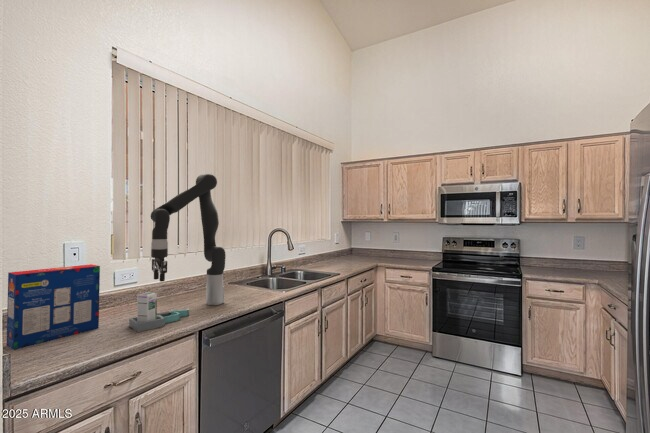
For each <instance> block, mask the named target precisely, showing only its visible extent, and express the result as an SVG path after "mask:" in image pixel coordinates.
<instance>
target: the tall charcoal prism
mask: <svg viewBox="0 0 650 433" xmlns="http://www.w3.org/2000/svg"><path fill="white" fill-rule="evenodd" d="M157 315H161V316H162V317H166V316H170V315H171V311H168V310H167V311H163V312H157Z"/></svg>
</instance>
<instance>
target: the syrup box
mask: <svg viewBox="0 0 650 433" xmlns="http://www.w3.org/2000/svg"><path fill="white" fill-rule="evenodd" d="M136 296H137V299H136V300H137V301H136V302H137V303H136V304H137V310H136V312H137V313H136V317H137V322H138V323H142V322H147V321H152V320H157V313H158V305H157V303H158V293H157V292H154V291H153V292H152V291H146V292H143V293H141V294H137V295H136Z"/></svg>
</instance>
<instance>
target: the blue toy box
mask: <svg viewBox="0 0 650 433" xmlns="http://www.w3.org/2000/svg"><path fill="white" fill-rule="evenodd" d="M7 273H8V274H7V310H6V313H7V314H6V346H7V347H8V348H10V349H11V350H13V351H15V350H16V351H17V350H20V349H25V348H27V347H32V346H35V345H39V344H44V343H49V342H51V341H56V340H59V339H65V338H66V337H71V336H76V335H79V334H83V333H88V332H91V331H95V330H99V328H100V325H99V322H100V321H99V319H100V285H101V284H100V281H101V278H100V277H101V276H100V274H101V265H98V264H91V263H90V264H83V265H73V266H72V265H71V266H61V267H60V266H59V267H54V268H53V267H50V268H49V267H48V268H43V269H42V268H41V269H32V270H30V269H29V270H20V271H12V272H10V271H9V272H7Z"/></svg>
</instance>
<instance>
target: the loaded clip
mask: <svg viewBox="0 0 650 433" xmlns="http://www.w3.org/2000/svg"><path fill="white" fill-rule="evenodd" d="M170 312H171V315H175V312H177V313H179V314H180V318H182V317H189V315H190V310H189V307H187V309H186V308H183V309H182V308H180V309H173V308H171V309H170Z"/></svg>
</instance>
